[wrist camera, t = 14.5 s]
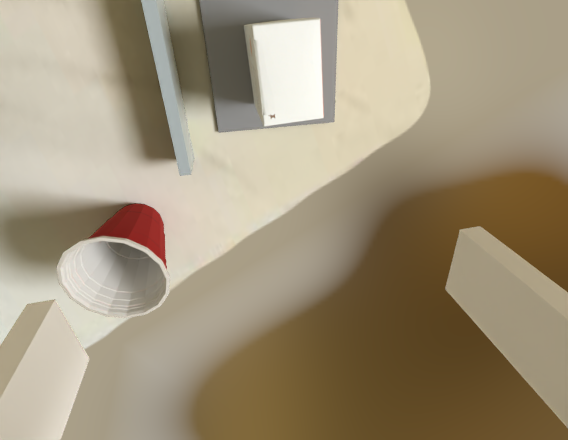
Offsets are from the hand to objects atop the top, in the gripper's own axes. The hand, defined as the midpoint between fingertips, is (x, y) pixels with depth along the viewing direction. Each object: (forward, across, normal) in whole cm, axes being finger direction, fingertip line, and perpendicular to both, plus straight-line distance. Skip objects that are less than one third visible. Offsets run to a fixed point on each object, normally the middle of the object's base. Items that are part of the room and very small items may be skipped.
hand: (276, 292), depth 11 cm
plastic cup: (+32, +14, +14) cm, 38 cm away
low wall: (+32, +6, -4) cm, 33 cm away
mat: (+32, -5, -4) cm, 32 cm away
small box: (+31, -5, -4) cm, 32 cm away
